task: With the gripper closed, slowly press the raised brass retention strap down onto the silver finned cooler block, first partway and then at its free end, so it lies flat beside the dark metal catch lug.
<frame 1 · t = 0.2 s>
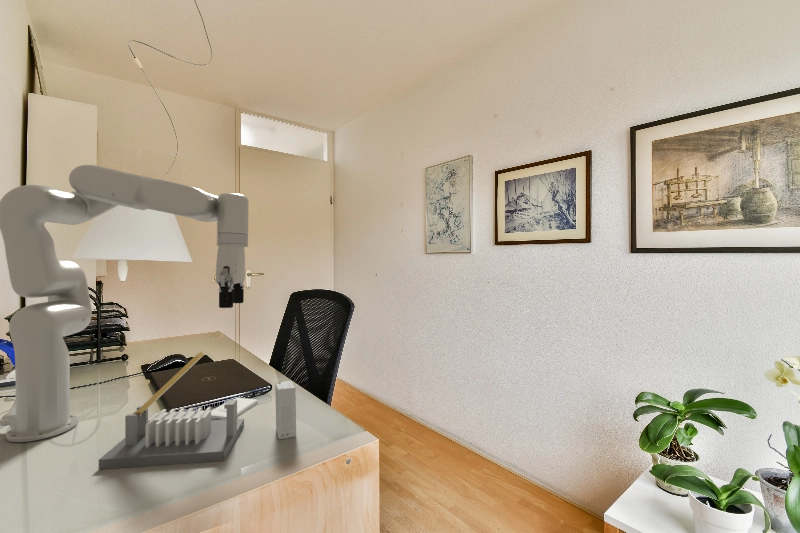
hand: (231, 305, 96), 31 cm above the table, tool pointing down, fingers open, 9 cm apart
external hard drive: (232, 412, 103), on the table
cooler base: (180, 445, 83), on the table
retention strap: (167, 385, 82), point 14 cm above the table, hinge at 45.0°
skincare box: (285, 433, 90), on the table
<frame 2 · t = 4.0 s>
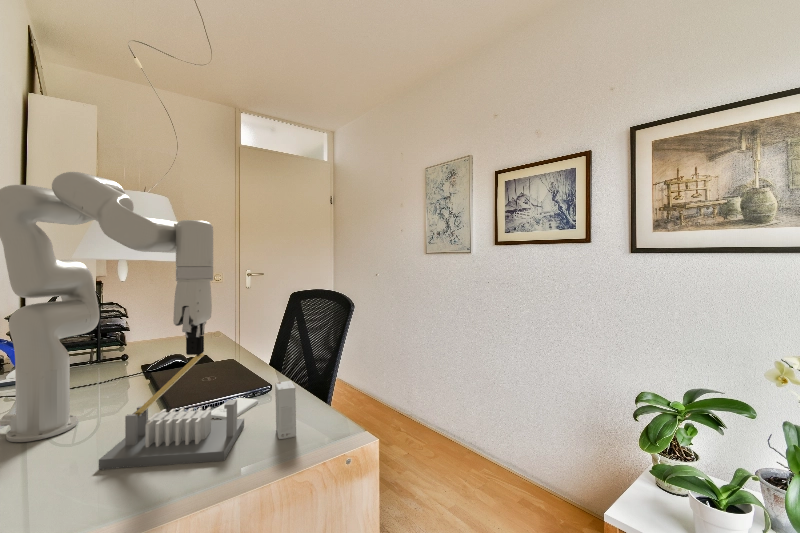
hand: (195, 353, 83), 21 cm above the table, tool pointing down, fingers closed
retention strap: (167, 385, 82), point 14 cm above the table, hinge at 44.9°, touching gripper
everything else where it was.
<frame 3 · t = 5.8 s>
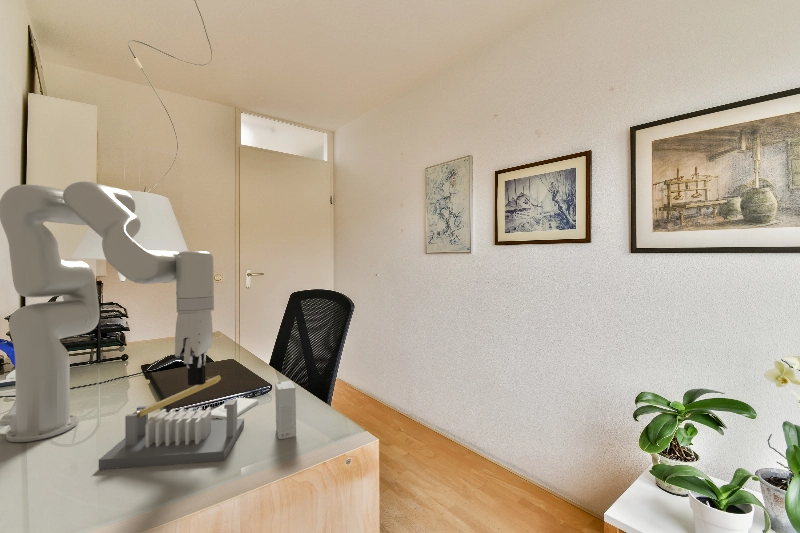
hand: (196, 383, 83), 14 cm above the table, tool pointing down, fingers closed
retention strap: (176, 397, 83), point 11 cm above the table, hinge at 23.7°, touching gripper
everything else where it was.
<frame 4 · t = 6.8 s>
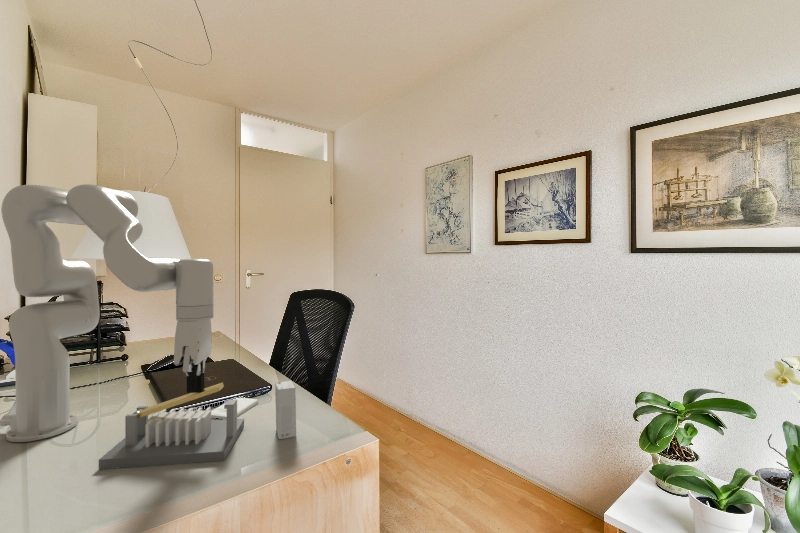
hand: (195, 391, 83), 12 cm above the table, tool pointing down, fingers closed
retention strap: (178, 401, 83), point 10 cm above the table, hinge at 17.7°, touching gripper
everything else where it was.
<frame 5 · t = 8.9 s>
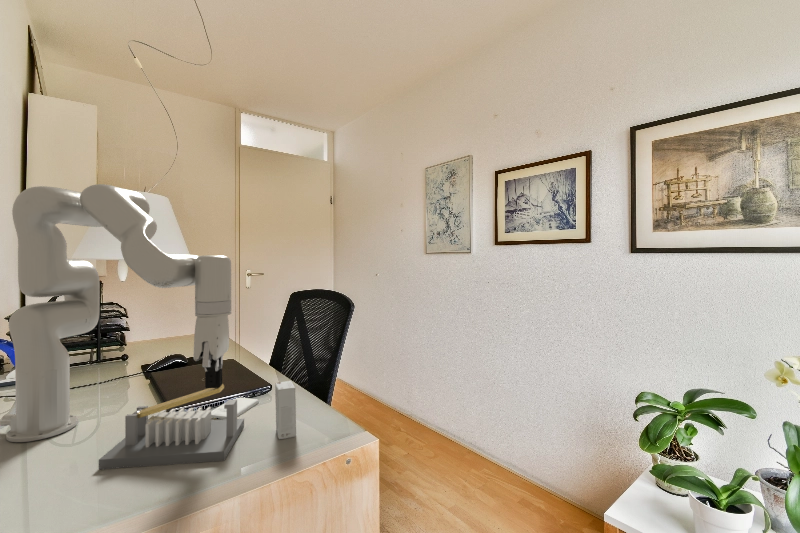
hand: (213, 386, 84), 13 cm above the table, tool pointing down, fingers closed
retention strap: (178, 401, 83), point 10 cm above the table, hinge at 16.6°, touching gripper
everything else where it was.
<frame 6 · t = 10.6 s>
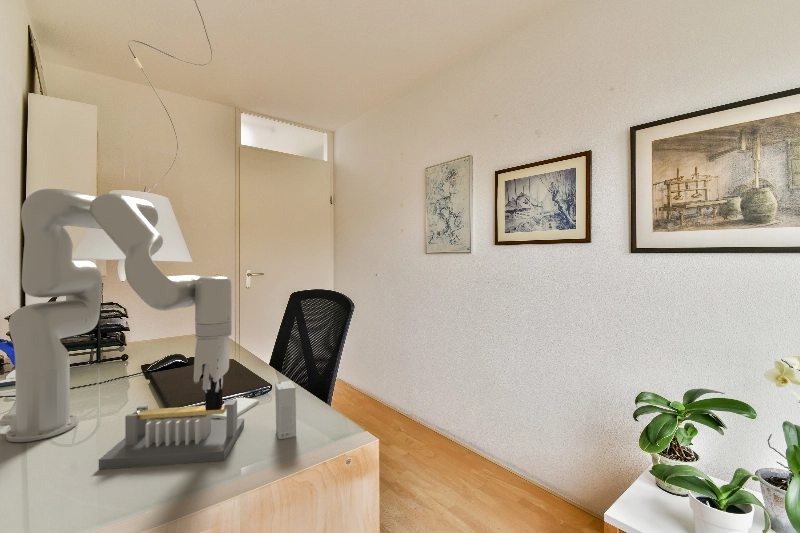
hand: (214, 407, 84), 8 cm above the table, tool pointing down, fingers closed
retention strap: (180, 411, 83), point 8 cm above the table, hinge at 1.1°, touching gripper
everything else where it was.
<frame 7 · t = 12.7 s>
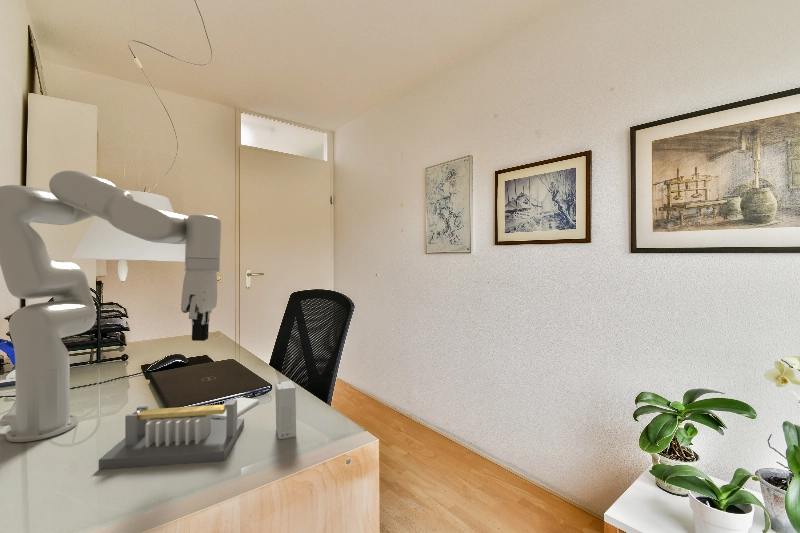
hand: (200, 339, 89), 23 cm above the table, tool pointing down, fingers closed
retention strap: (180, 412, 83), point 8 cm above the table, hinge at 1.0°
everything else where it was.
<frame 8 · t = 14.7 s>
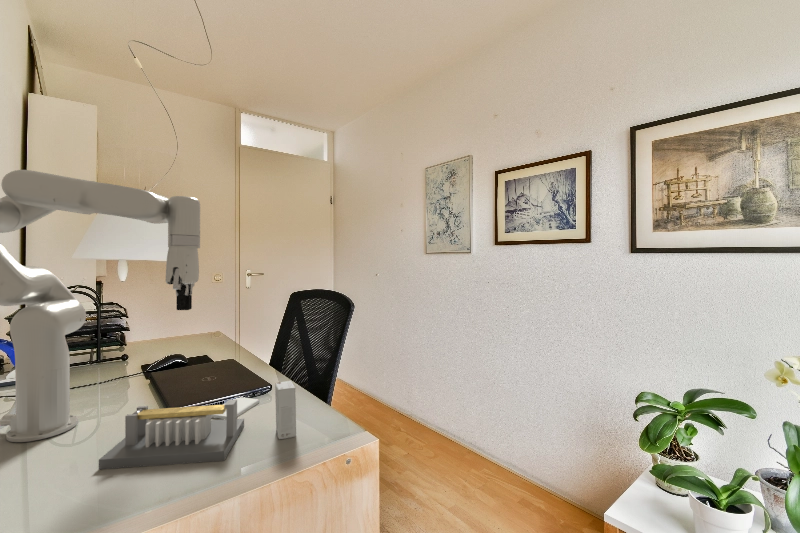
hand: (184, 309, 98), 29 cm above the table, tool pointing down, fingers closed
nothing on the table moved.
at the end: retention strap at +1° (first picture: +45°); external hard drive moved 0.9 cm from its start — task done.
